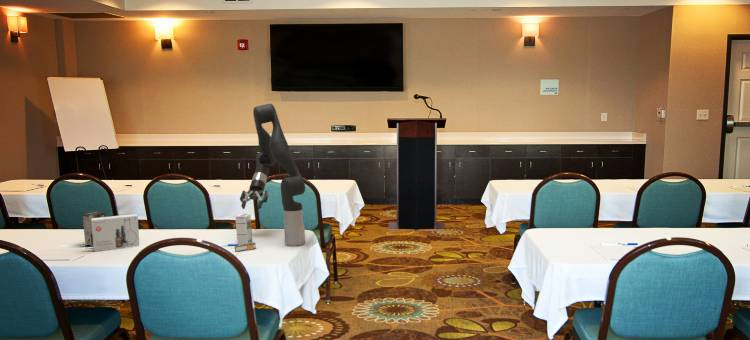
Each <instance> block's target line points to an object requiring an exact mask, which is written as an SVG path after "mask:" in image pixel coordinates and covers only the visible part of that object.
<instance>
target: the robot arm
mask: <svg viewBox="0 0 750 340" xmlns="http://www.w3.org/2000/svg"><path fill="white" fill-rule="evenodd" d="M252 114H253V119H254V125H255V129H256V134H257V138H258V151H259V152H257V153H256V158H255V159H256V160H255V161H256V162H255V163H256V166H255V171H254V174H253V176H252V179H251V182H250V185H249V189H248V190H247V191H245V190H242V192H241V194H240V196H239V200H240V202H241V205H240V206H241V208H242V210H245V209H246V204H247V203H248V202H251V200H252V201H253V200H255V201H256V200H259V201H258V203H257V206H256V207H257V210H260V209H262V206H263V204H265V203H267V202H268V198H269V191H268V190H265V187H266V184H267V181H268V176H269V172H270V169H269V167H272V166H274V165H275V164H276V163H277V164H278V165H279V166H281V168H282V169H284V170H285V171H286V172H287V174H288V176H289V177H284V178H282V179H281V181H280V194H281V204H282V208H283V225H284V226H283V228H284V244H285V246H289V247H296V246H302V245H303V244H305V243H306V231H305V229H306V228H305V223H304V219H303V217H304V216H303V215H304V214H303V204H302V203H301V202H298V201H295V200H294V197H295V196H300V195H301V196H302V195H304V193H305V192H306V184H305V181H304V179H303V176H302V174H301V172H300V171H299V168H298V166H297V165H296V162H295V160H294V158H293V155H292V151H291V149H290V146H289V144H288V142H287V139H286V136H285V133H284V132H283V129H282V126H281V123H280V120H279V116H278V113H277V110H276V107H275V105H274V104H272V103H266V104H261V105H257V106H254V107H253V111H252ZM267 123H271V124H272V131H271V134H270V133H269V132H268V131H267V130H266V129H265V128H264V127H263V124H267ZM268 166H269V167H268ZM262 196H263V198H261V197H262Z"/></svg>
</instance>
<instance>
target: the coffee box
mask: <svg viewBox="0 0 750 340" xmlns="http://www.w3.org/2000/svg"><path fill="white" fill-rule="evenodd" d="M101 217H106V212H104V211H93V212H88V213H84V214H82V223H83V225H82V226H83V234H84V245H85V246H87V245H91V246H92V247H93V236H92V221H91V218H101ZM91 246H90V247H91Z"/></svg>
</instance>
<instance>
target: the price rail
mask: <svg viewBox="0 0 750 340" xmlns="http://www.w3.org/2000/svg"><path fill="white" fill-rule="evenodd" d="M255 249H257V243H256V242H251V243H249V244H237V245H234V252H235V251H236V252H237V251H238V252H242V251H249V250H250V251H251V250H255ZM238 252H237V253H238Z"/></svg>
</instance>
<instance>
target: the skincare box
mask: <svg viewBox="0 0 750 340" xmlns="http://www.w3.org/2000/svg"><path fill="white" fill-rule="evenodd" d="M138 217H139V216H138V214H137V213H133V214H123V215H114V216H113V215H112V216H105V217H101V218H91V221H92V236H93V246H92V248H93V252H102V251H109V249H111V250H118V248H119V249H124V248H126V247H127V248H134V247H133V246H135V247H140V246H139V245H140V233H139V232H140V231H139V218H138ZM101 250H102V251H101Z"/></svg>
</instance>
